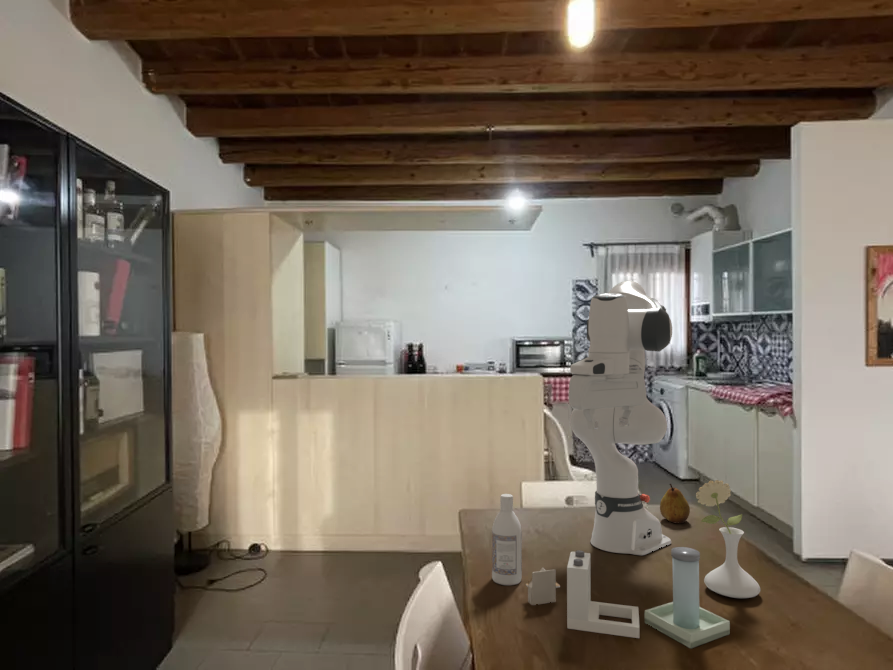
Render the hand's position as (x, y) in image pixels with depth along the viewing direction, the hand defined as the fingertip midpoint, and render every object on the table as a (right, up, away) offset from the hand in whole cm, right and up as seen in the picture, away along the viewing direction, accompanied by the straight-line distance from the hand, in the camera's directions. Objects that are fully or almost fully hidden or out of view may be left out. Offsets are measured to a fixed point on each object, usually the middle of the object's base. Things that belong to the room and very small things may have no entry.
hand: (608, 427), depth 131 cm
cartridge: (+11, -36, -16) cm, 41 cm away
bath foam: (-22, -37, +7) cm, 44 cm away
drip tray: (+11, -37, -16) cm, 42 cm away
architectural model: (-16, -38, -4) cm, 41 cm away
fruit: (+35, -37, +52) cm, 73 cm away
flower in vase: (+27, -37, +1) cm, 46 cm away
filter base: (-5, -37, -13) cm, 40 cm away
